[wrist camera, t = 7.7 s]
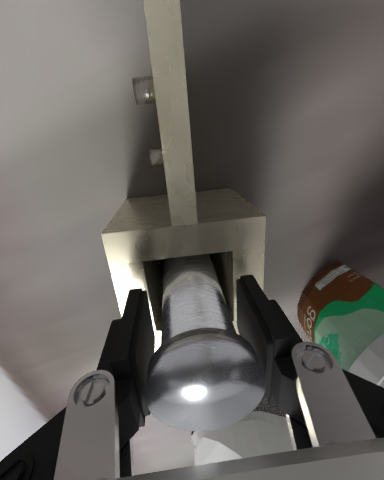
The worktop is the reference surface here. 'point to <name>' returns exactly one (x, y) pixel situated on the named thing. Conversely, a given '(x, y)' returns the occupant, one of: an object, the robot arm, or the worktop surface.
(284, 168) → the worktop surface
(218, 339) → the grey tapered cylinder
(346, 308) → the food container
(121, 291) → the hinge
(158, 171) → the worktop surface
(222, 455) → the iron
